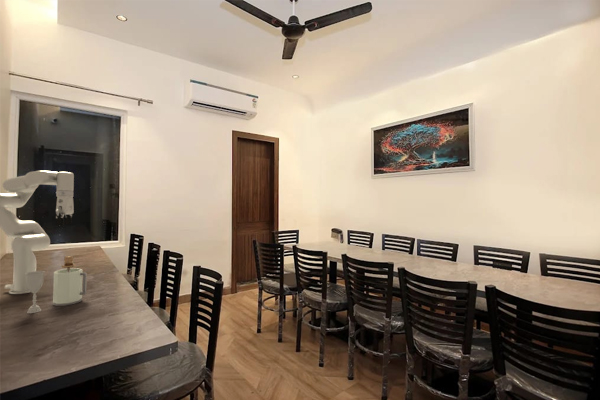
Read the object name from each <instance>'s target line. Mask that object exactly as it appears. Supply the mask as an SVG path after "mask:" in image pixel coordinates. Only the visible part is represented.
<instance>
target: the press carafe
mask: <svg viewBox="0 0 600 400" xmlns="http://www.w3.org/2000/svg"><path fill="white" fill-rule="evenodd" d="M87 277H88V273H87V272H83V268H78V267H77V268H76V267H72V268H70V273H67V268H62V269H59V270H56V271H53V287H52V288H53V289H52V290H53V291H52V306H54V307H55V306H56V307H65V306H71V305H75V304H79V303H80V302H82V301H83V296H84V295H86V294H87V279H88V278H87Z"/></svg>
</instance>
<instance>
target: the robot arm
mask: <svg viewBox="0 0 600 400" xmlns="http://www.w3.org/2000/svg"><path fill="white" fill-rule="evenodd" d="M74 178H75V175H74V173H73V172H70V171H69V172H68V171H59V172H58V171H51V170H35V171H29V172H27V173H26V174H25V175H20V176H14V177H10V178H8V179H6V180H4V181H3V183H2V187H3V188H2V189H4V190H5V191H7V192H8V193H1V192H0V229H1V230H2V231H3V233H4V234H5V235H6V236H7V237H9V238H10V239H11V238H12V239H13V238H14V239H13V240H12V242H11V249H12V253H13V271H12V272H13V274H12V275H13V276H12V284H5V285H4V290H5V289H6V290H8V289H10V290H9V291H8V294H10V295H22V294H28V293H31V292H30V290H29V289H28V287H27V284H26V280H27V276H26V274H25V273H28V272H33V271H37V257H36V255H35V253H34V252H35V251H40V250H45V249H48V248H49V247H50V244H51V239H50V236H49V235H48V234H47V233H46V232H45V230H44V228H43V227H41V225H40V224H39V223H38V222H36V221H34V220H21V219H19V218H18V217H17V216H16V214H15V213H14V212H12V211H10V210H8V209H18V208H23V207H24V206H25V205H26V204H27V202H28V201H29V199H30V198H31V197H32V196H33V194H34V192H36V189H37V188H39V186H40V185H47V186H49V185H50V186H56V189H55V190H56V193H55V195H56V197H57V198H56V206H55V220H56V222H55V223H56V224H55V225H56V226H64V225H71V224H72V223H73V221H72V220H73V219H72V218H73V214H74V213H75V212H74V211H75V210H74V209H75V208H74V206H75V205H74V198H73V197H74V187H75V185H74V184H75V182H74V181H75V179H74ZM64 216H65V217H64Z"/></svg>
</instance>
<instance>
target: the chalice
mask: <svg viewBox="0 0 600 400" xmlns="http://www.w3.org/2000/svg"><path fill="white" fill-rule="evenodd" d="M45 272H46V271H45V270H36V271H33V272H28V273H25V274H26V276H27V280H26V284H27V287H28V289H29V290H30V293H32V295H33V296H32V300H31V301H32V303H33V304H32V305H31V306H29V308H28V309H27V312H26V313H27V314H36V313H39V312H41V311H42V308H40V306H39V305H37V301H38V300H37V298H38V296H37V293H38V292H39V291H40V290H41V288H42V286H43V284H44V275H45Z"/></svg>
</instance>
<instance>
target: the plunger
mask: <svg viewBox="0 0 600 400" xmlns="http://www.w3.org/2000/svg"><path fill="white" fill-rule="evenodd" d="M63 259H64V261H63V262H64V263H63V264H62V265H61V268H62V269H67V273H70V269H72V268H76V263H74V256H73V255H66V256H64V258H63Z"/></svg>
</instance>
